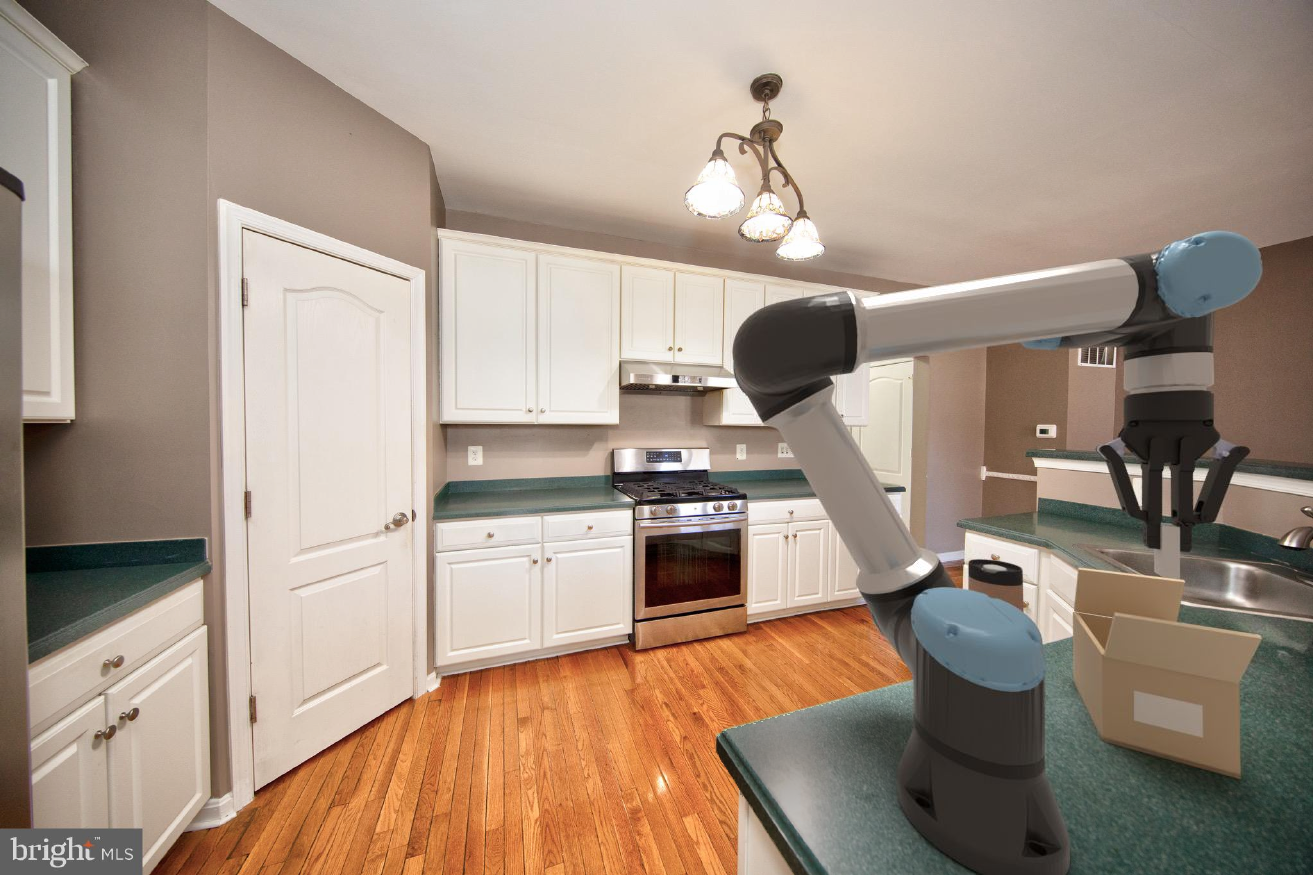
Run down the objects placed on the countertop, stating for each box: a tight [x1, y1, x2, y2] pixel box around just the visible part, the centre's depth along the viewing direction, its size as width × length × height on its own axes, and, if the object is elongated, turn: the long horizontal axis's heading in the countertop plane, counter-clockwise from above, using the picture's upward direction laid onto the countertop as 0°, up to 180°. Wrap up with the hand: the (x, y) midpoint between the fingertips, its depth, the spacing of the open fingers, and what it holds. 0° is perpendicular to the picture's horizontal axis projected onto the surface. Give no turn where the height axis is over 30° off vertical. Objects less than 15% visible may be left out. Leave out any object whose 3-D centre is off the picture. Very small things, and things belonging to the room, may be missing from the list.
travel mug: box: [967, 558, 1025, 613], centre depth 75 cm, size 8×8×20 cm
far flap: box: [1073, 567, 1186, 622], centre depth 70 cm, size 9×12×1 cm
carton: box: [1072, 611, 1242, 780], centre depth 64 cm, size 18×12×12 cm, turn 145°
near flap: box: [1104, 612, 1263, 685], centre depth 54 cm, size 9×12×1 cm
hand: (1166, 575), depth 56 cm, fingers closed
